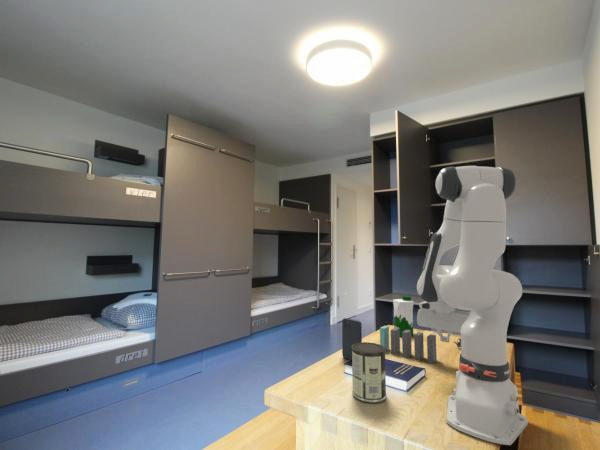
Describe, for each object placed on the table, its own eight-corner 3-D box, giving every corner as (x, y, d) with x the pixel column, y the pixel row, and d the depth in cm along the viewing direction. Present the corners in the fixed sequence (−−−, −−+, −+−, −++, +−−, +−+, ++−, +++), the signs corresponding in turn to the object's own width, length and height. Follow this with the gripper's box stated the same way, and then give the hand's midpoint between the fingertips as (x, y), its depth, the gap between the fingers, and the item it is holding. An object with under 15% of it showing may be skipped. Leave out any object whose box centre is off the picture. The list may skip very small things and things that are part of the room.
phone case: (341, 357, 121) (341, 318, 122) (343, 356, 122) (343, 317, 123) (360, 363, 114) (359, 321, 116) (362, 362, 116) (362, 321, 117)
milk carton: (416, 337, 149) (415, 297, 151) (400, 338, 148) (399, 298, 149) (407, 332, 158) (406, 294, 160) (391, 333, 156) (390, 295, 158)
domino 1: (380, 351, 129) (379, 327, 130) (384, 348, 133) (384, 325, 134) (384, 352, 128) (384, 328, 128) (389, 349, 132) (388, 326, 132)
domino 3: (411, 354, 125) (411, 330, 126) (407, 357, 121) (406, 333, 122) (406, 353, 126) (406, 329, 127) (402, 356, 123) (402, 332, 123)
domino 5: (436, 360, 119) (435, 335, 120) (432, 364, 115) (432, 337, 116) (431, 359, 120) (430, 334, 121) (427, 362, 116) (426, 336, 117)
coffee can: (369, 383, 98) (369, 340, 99) (393, 397, 89) (392, 349, 90) (345, 390, 93) (344, 344, 94) (367, 406, 84) (367, 355, 85)
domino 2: (400, 351, 128) (399, 328, 129) (395, 354, 125) (395, 330, 125) (395, 350, 130) (395, 327, 130) (391, 353, 126) (390, 329, 127)
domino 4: (423, 357, 122) (423, 332, 123) (419, 360, 118) (419, 335, 119) (418, 356, 123) (418, 331, 124) (414, 359, 119) (414, 334, 120)
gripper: (475, 308, 112) (476, 345, 111) (420, 301, 125) (421, 334, 124) (472, 310, 107) (473, 349, 106) (415, 303, 120) (415, 338, 119)
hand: (444, 341), depth 115 cm, fingers closed
